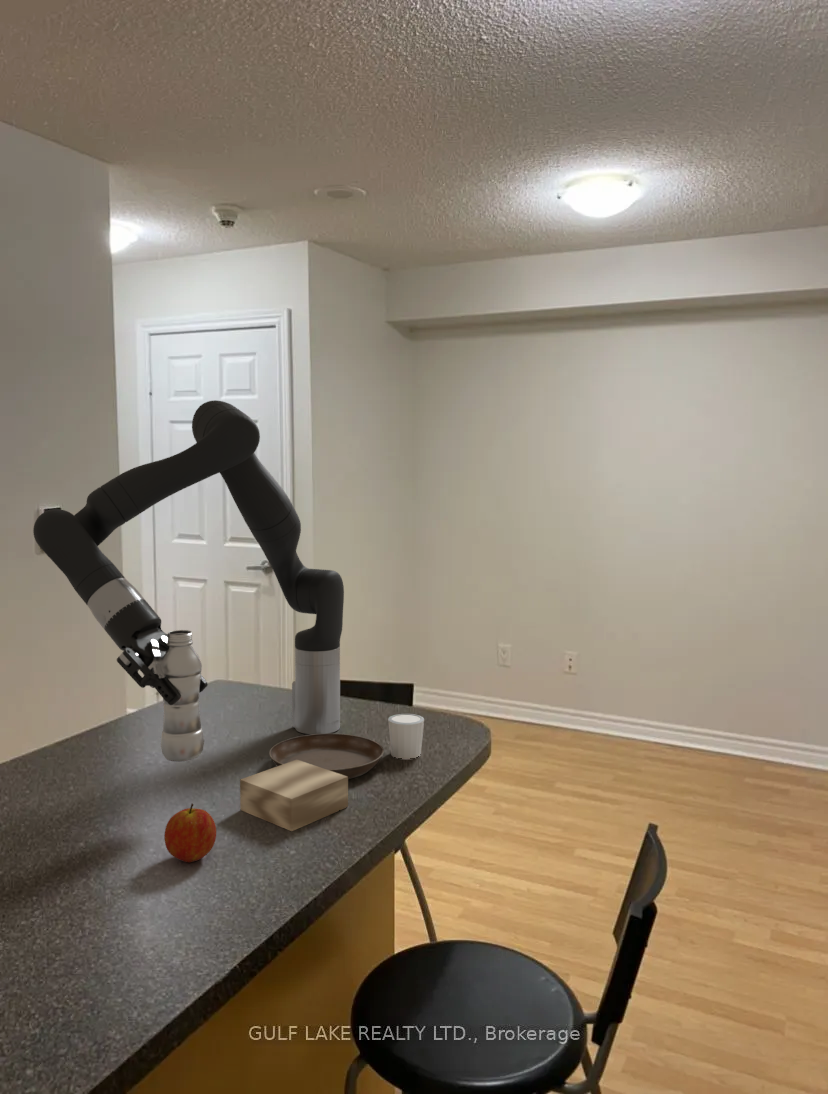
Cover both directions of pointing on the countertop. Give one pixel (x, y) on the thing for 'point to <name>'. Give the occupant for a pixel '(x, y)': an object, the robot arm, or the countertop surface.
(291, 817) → the block
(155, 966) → the countertop surface
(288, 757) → the plant saucer
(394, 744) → the white cup
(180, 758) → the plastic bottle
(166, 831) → the fruit
